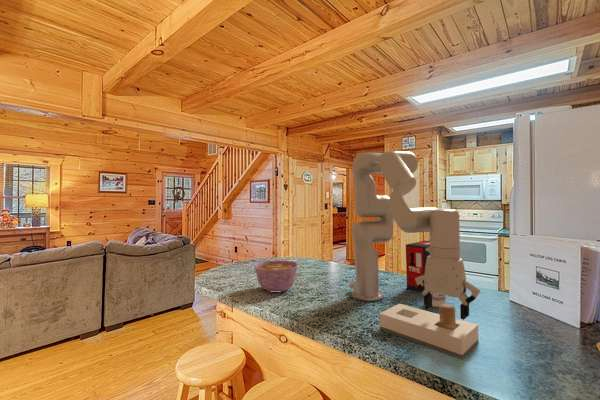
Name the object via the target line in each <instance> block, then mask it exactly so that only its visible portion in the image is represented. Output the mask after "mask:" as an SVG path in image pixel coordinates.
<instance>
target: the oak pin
mask: <svg viewBox="0 0 600 400" xmlns="http://www.w3.org/2000/svg"><path fill="white" fill-rule="evenodd" d="M438 308H439V309H438V312H439V313H438V314H439V315H440V327H442V328H445V329H449V330H452V331H453V330H455V329H456V321H455V319H456V307H455V306H453V305H451V304H446V305H439V307H438Z"/></svg>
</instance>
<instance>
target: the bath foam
mask: <svg viewBox="0 0 600 400" xmlns="http://www.w3.org/2000/svg"><path fill="white" fill-rule="evenodd" d="M430 293H431V294H432V308H434V307H435V308H439V305H447V304H446V300H447V299H446V298H447V295H442V294H438V293H434V292H430Z"/></svg>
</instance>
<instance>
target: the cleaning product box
mask: <svg viewBox="0 0 600 400" xmlns="http://www.w3.org/2000/svg"><path fill="white" fill-rule="evenodd" d="M429 246H430V240H422V241H416V242H411V243H407V244H405V263H406V264H405V265H406V269H405V270H406V289H407V290H409V291H413V292H417V293H421V294H422V292H421V290H420V289H419V288H418V285H417V283H416V281H415V278H417V277H419V276H422V275H425V266H426V260H427V256H430V252H428V251H426V247H429ZM422 283H423V284H424V280H422Z"/></svg>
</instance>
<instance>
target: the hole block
mask: <svg viewBox="0 0 600 400" xmlns="http://www.w3.org/2000/svg"><path fill="white" fill-rule="evenodd" d="M455 321H456V329H455V330H453V331H452V330H449V329H445V328H442V327H440V315H439V313H435V312H431V311H429V310H426V309H420V308H417V307H414V306H413V307H412V306H411V305H407V304H402V303H398V304H396V305H394V306H392V307H390V308H388V309H386V310H384V311H382V312H380V313H379V329H380V330H381V329H382V330H381V331H383V330H384V332H386V331H387V332H386V333H389V334H392V335H395V336H398V337H400V338H403V339H406V340H409V341H410V342H411V341H412V342H414V343H417V344H419V345H422V346H425V347H427V348H430V349H434V350H435V351H436V350H437V351H438V352H442V353H444V354H446V355H447V354H448V355H450V356H453V357H456V358H459V359H461V360H464V358H465V357H466V356H467V355H468V354H469V353H470V352H471V351H472V350H473V349H474V348H475V347H476V346H477V345H478V344H479V324H477V323H473V322H469V321H465V320H463V319H458V318H455Z"/></svg>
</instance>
